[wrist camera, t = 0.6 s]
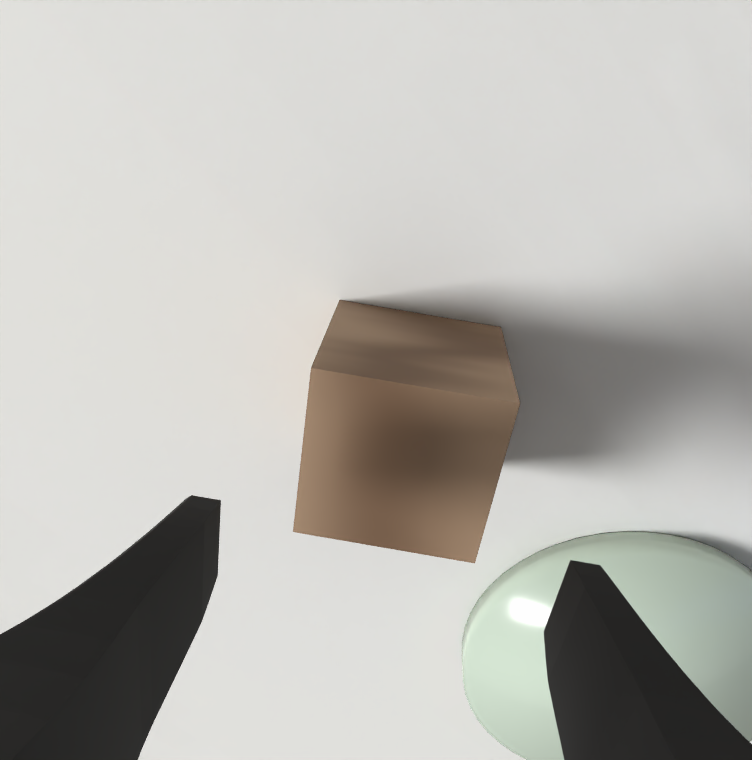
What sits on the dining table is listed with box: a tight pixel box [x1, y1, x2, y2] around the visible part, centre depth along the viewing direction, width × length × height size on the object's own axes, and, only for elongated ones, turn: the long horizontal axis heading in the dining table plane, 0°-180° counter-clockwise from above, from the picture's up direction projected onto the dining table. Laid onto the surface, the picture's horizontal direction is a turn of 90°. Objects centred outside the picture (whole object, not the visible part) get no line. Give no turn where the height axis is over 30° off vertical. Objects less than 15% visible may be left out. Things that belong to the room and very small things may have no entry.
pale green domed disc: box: [462, 532, 752, 760], centre depth 24 cm, size 12×12×1 cm
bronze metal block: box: [293, 300, 520, 563], centre depth 18 cm, size 5×5×5 cm
